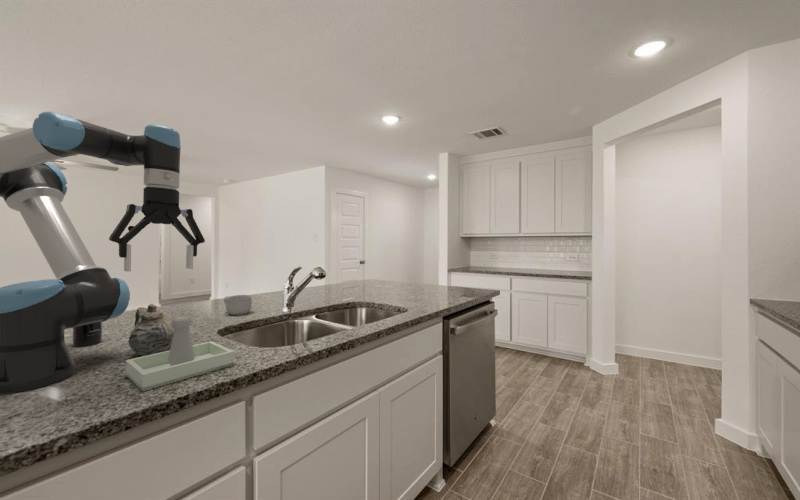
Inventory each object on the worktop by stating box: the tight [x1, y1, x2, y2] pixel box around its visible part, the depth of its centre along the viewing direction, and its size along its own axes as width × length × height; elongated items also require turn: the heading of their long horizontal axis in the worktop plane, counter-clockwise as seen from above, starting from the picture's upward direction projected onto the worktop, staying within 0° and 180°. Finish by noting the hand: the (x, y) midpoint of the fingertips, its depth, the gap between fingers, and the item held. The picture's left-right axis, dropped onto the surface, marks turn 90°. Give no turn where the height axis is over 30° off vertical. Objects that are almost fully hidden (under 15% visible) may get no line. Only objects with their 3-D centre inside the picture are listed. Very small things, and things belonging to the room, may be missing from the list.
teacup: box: [223, 294, 253, 317], centre depth 150 cm, size 14×11×8 cm
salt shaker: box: [168, 315, 195, 366], centre depth 85 cm, size 6×6×13 cm
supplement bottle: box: [72, 322, 103, 347], centre depth 106 cm, size 7×7×12 cm
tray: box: [125, 340, 235, 392], centre depth 85 cm, size 20×14×4 cm
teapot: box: [128, 303, 174, 357], centre depth 96 cm, size 21×12×15 cm, turn 59°
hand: (160, 269), depth 86 cm, fingers open, 13 cm apart
